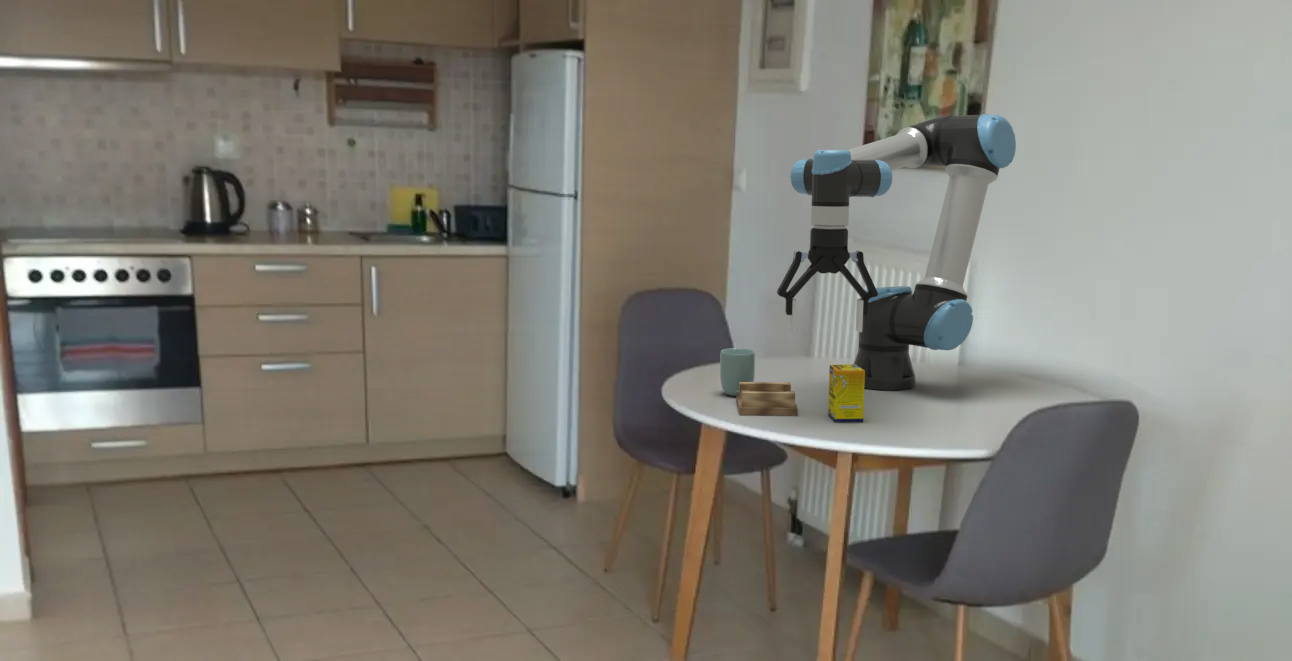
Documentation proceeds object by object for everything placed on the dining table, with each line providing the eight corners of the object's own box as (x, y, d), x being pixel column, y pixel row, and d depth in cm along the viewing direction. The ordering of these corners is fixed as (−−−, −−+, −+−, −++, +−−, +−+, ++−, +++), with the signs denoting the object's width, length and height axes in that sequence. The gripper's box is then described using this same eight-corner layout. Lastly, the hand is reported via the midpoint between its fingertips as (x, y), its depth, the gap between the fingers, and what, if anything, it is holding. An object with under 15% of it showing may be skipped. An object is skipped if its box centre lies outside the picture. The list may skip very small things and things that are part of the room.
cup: (752, 399, 241) (753, 354, 239) (717, 397, 242) (718, 353, 241) (755, 391, 248) (756, 348, 247) (722, 390, 250) (722, 347, 248)
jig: (791, 401, 239) (791, 381, 238) (797, 415, 226) (798, 394, 225) (736, 401, 239) (736, 381, 238) (739, 415, 226) (740, 394, 225)
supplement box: (827, 416, 226) (828, 364, 224) (855, 415, 226) (857, 363, 224) (834, 423, 220) (836, 370, 218) (863, 422, 220) (865, 369, 219)
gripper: (886, 226, 223) (882, 328, 227) (765, 225, 223) (762, 327, 226) (895, 228, 216) (891, 334, 219) (770, 228, 215) (767, 333, 219)
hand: (825, 331), depth 223 cm, fingers open, 13 cm apart
